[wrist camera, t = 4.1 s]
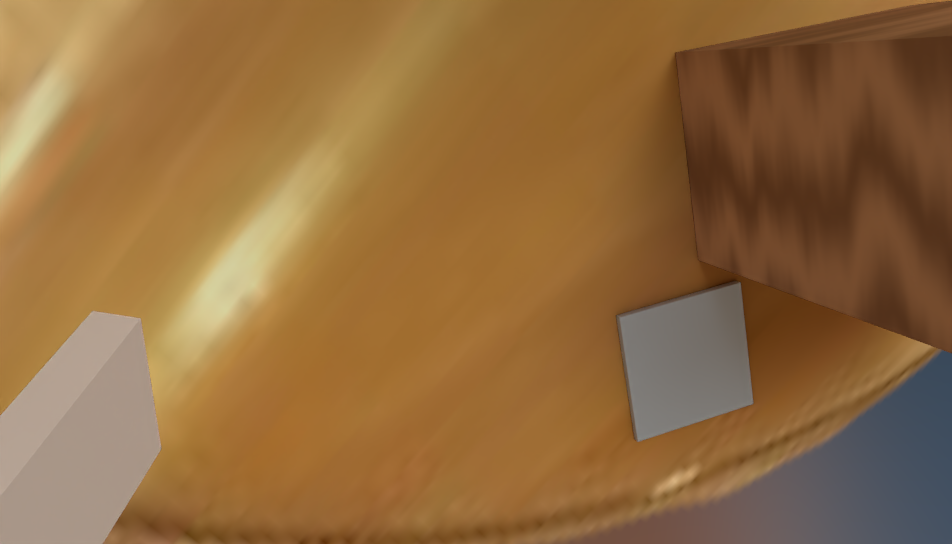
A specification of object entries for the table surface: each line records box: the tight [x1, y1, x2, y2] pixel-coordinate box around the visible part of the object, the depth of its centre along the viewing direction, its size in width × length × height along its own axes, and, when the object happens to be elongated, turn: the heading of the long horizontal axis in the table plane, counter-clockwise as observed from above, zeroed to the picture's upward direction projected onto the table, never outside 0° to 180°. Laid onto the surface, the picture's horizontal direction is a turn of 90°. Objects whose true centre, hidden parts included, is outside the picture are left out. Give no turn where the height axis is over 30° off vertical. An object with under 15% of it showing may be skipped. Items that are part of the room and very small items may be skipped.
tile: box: [616, 281, 753, 442], centre depth 52 cm, size 8×8×1 cm
